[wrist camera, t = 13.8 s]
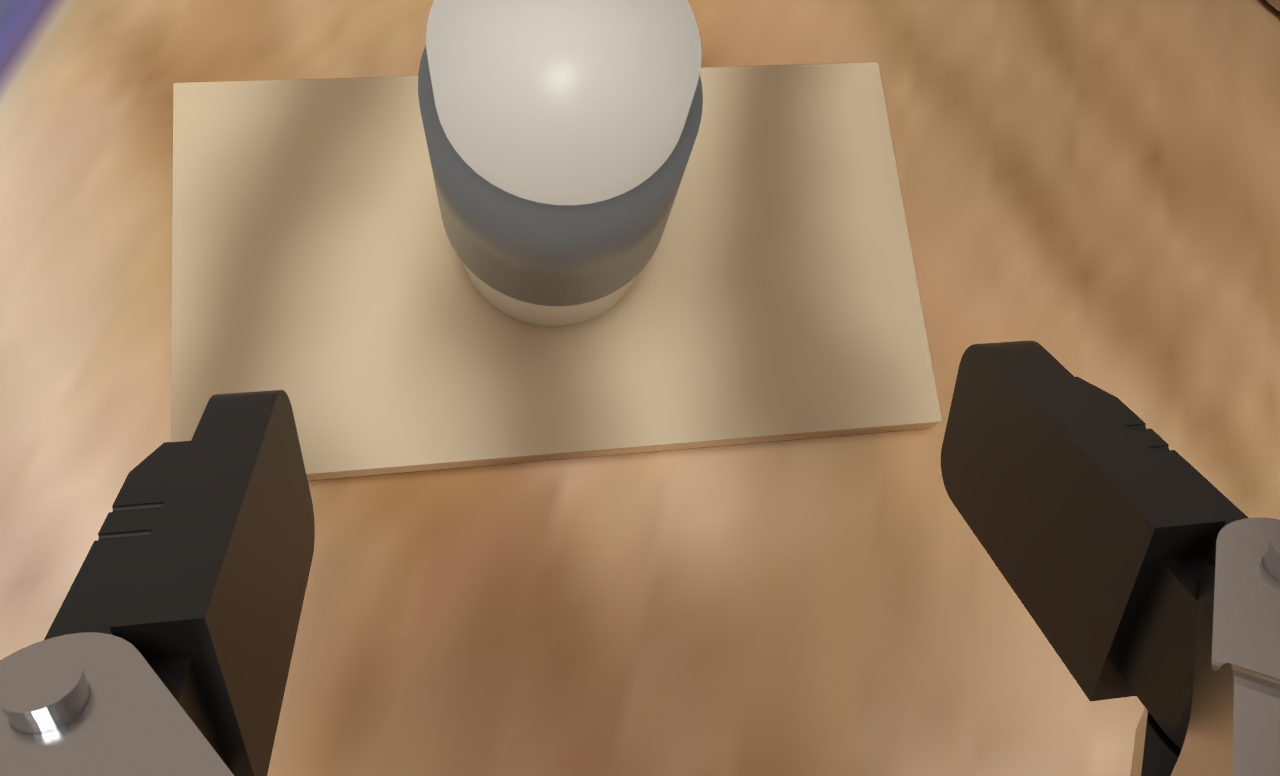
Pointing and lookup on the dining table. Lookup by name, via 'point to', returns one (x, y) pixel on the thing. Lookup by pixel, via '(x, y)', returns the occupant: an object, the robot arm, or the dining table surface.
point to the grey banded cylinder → (558, 143)
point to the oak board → (526, 353)
